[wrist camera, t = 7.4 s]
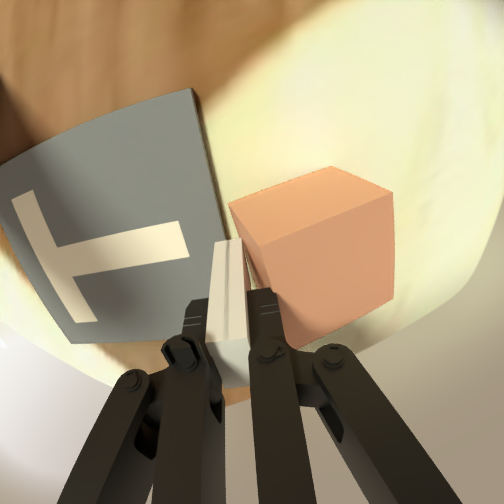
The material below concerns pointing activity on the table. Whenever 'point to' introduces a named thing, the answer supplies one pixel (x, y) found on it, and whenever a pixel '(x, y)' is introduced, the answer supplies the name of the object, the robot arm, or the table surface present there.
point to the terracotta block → (320, 249)
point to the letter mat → (117, 221)
